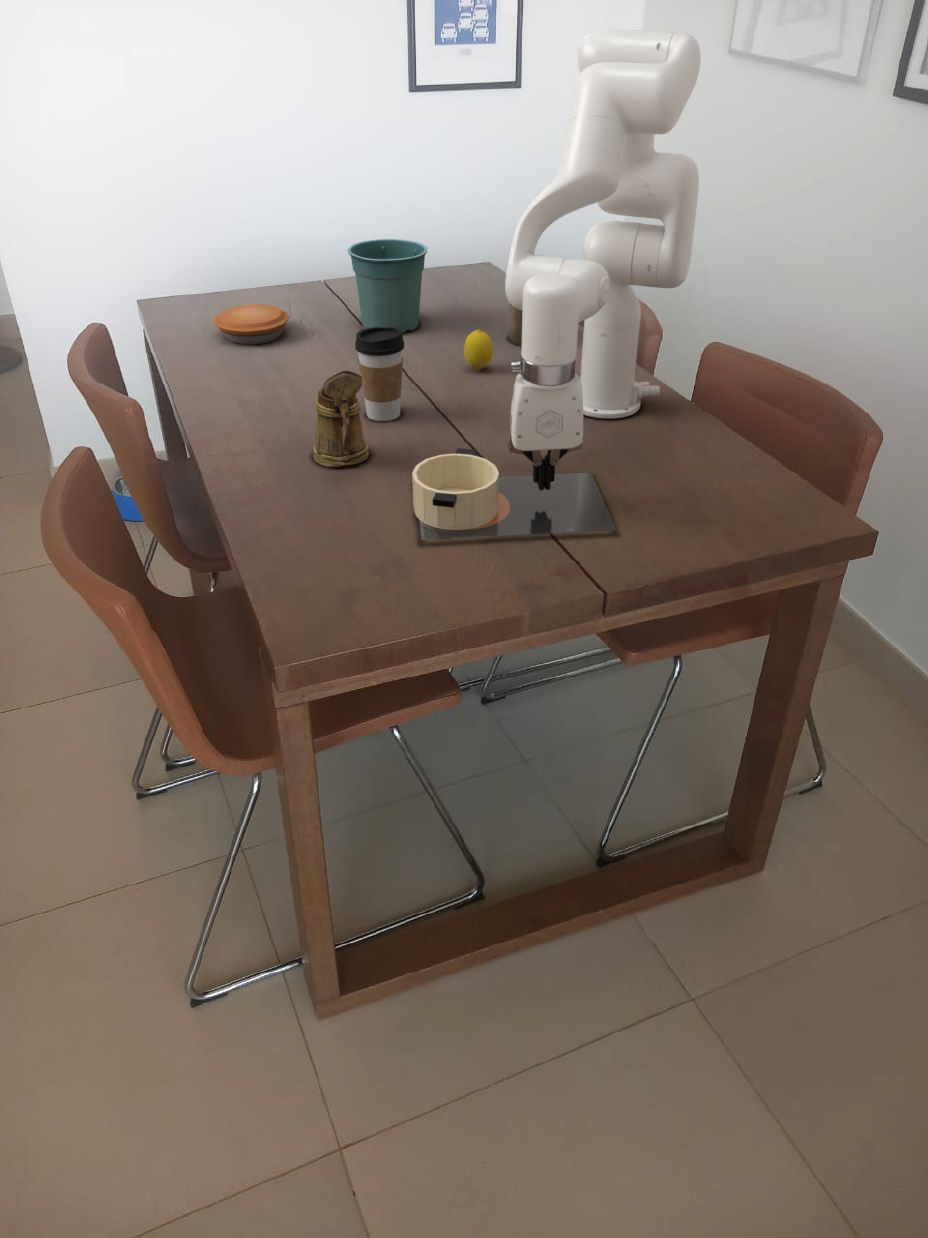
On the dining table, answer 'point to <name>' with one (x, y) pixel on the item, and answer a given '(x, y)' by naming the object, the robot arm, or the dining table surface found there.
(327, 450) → the wooden mug
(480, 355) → the lemon
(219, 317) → the pie
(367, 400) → the coffee cup
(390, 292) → the flower pot
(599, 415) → the robot arm
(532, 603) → the dining table surface
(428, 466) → the pot
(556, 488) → the cooktop
